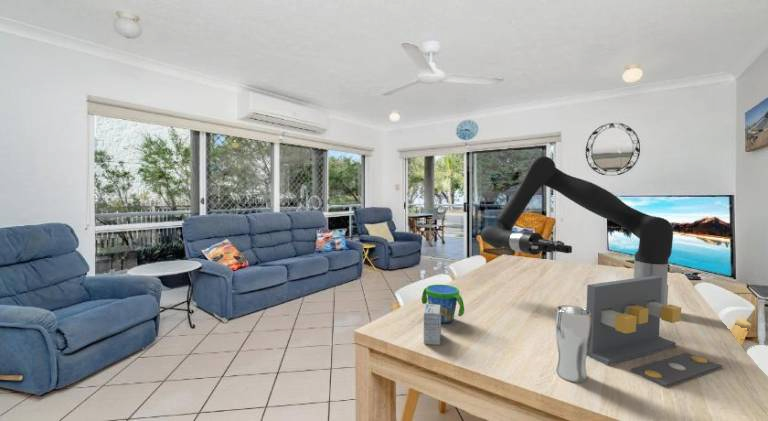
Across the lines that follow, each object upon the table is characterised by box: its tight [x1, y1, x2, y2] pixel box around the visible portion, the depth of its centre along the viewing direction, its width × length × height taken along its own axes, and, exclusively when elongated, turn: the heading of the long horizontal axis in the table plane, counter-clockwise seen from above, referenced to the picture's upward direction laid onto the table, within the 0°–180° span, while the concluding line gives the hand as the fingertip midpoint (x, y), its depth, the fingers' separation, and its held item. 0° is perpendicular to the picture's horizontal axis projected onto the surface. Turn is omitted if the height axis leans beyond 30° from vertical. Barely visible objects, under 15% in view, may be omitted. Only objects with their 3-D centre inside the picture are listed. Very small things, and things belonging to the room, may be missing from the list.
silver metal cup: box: [555, 304, 592, 384], centre depth 75 cm, size 7×7×15 cm
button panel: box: [586, 276, 677, 367], centre depth 89 cm, size 27×10×18 cm, turn 112°
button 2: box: [646, 301, 682, 324], centre depth 90 cm, size 4×10×4 cm, turn 22°
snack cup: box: [421, 284, 465, 324], centre depth 107 cm, size 16×10×10 cm
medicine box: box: [423, 303, 442, 346], centre depth 93 cm, size 8×4×9 cm, turn 168°
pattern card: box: [630, 351, 723, 388], centre depth 78 cm, size 22×7×1 cm, turn 112°
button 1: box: [601, 309, 637, 334], centre depth 83 cm, size 4×10×4 cm, turn 22°
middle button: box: [624, 305, 648, 324], centre depth 89 cm, size 4×10×4 cm, turn 22°
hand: (570, 249), depth 101 cm, fingers closed
